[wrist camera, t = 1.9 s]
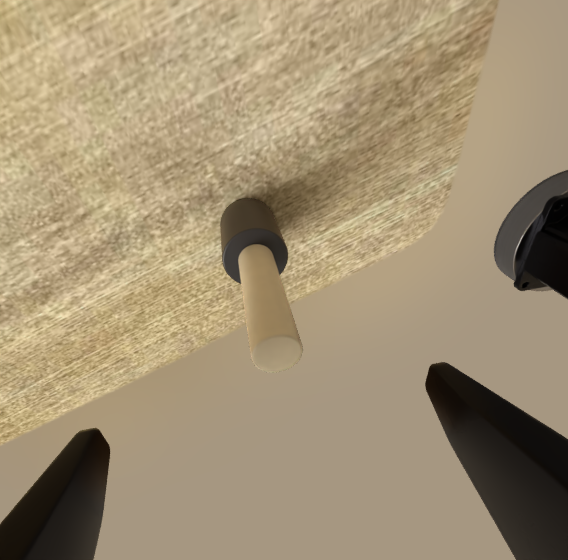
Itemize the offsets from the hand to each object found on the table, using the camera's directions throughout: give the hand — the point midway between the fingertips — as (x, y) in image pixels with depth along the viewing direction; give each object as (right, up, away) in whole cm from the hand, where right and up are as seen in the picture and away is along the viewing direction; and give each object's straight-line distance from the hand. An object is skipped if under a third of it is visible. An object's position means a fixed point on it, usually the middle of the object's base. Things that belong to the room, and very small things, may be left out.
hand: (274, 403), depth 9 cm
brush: (-2, +6, +9) cm, 11 cm away
